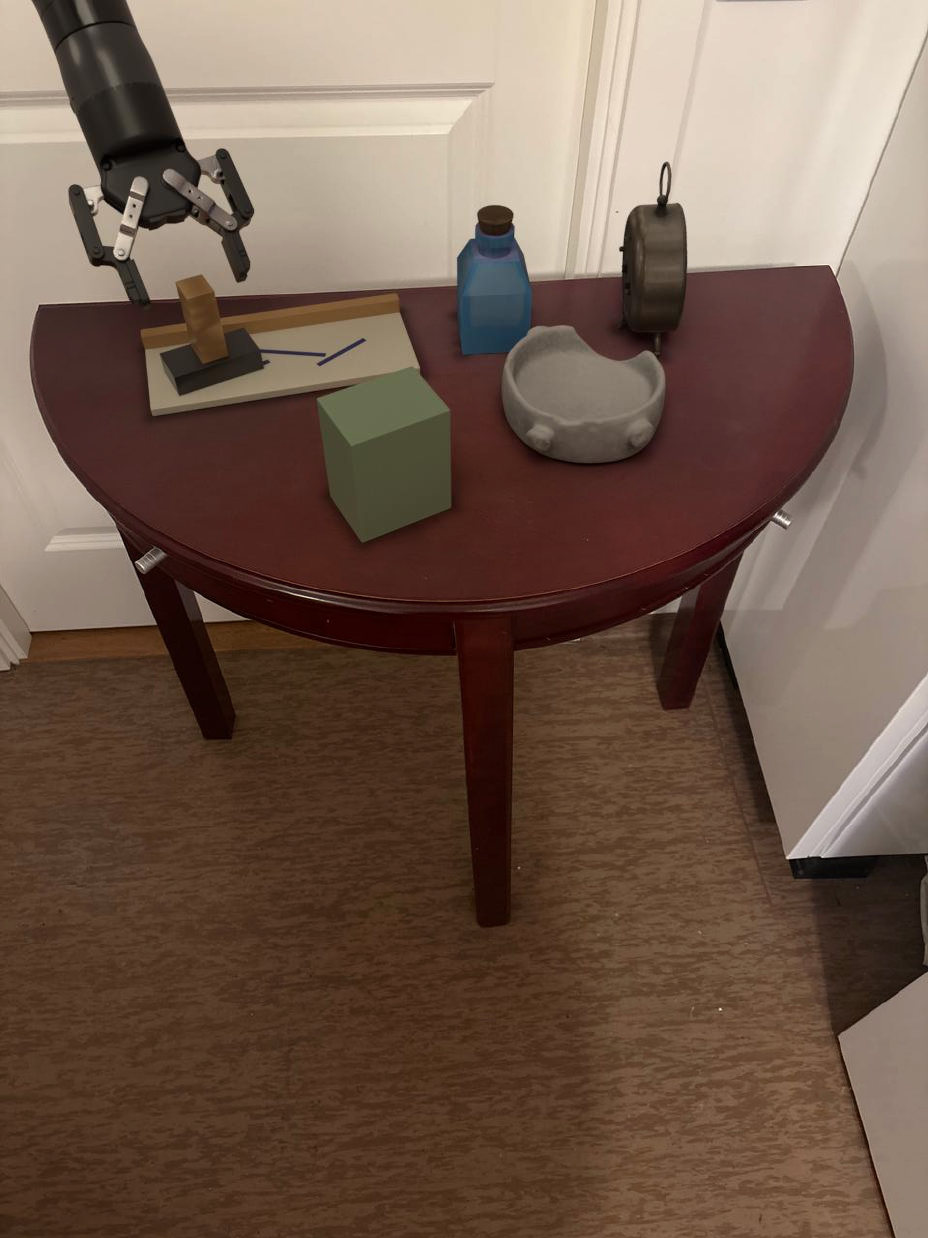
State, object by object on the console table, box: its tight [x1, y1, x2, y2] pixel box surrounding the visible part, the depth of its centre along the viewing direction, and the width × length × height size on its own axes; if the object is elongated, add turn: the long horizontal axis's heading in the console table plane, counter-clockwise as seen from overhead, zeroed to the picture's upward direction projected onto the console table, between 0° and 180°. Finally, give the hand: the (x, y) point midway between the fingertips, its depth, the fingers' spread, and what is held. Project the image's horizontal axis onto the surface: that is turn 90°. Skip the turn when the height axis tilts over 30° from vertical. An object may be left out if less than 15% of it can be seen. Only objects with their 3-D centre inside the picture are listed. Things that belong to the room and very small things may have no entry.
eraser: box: [160, 273, 264, 396], centre depth 88 cm, size 8×4×8 cm, turn 119°
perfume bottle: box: [456, 204, 533, 356], centre depth 91 cm, size 6×6×12 cm
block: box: [316, 366, 452, 544], centre depth 78 cm, size 8×6×10 cm
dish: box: [501, 324, 667, 464], centre depth 86 cm, size 14×14×5 cm
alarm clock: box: [617, 161, 688, 358], centre depth 90 cm, size 11×5×16 cm, turn 179°
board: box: [140, 292, 421, 417], centre depth 92 cm, size 24×10×2 cm, turn 104°
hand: (195, 293), depth 86 cm, fingers open, 8 cm apart
